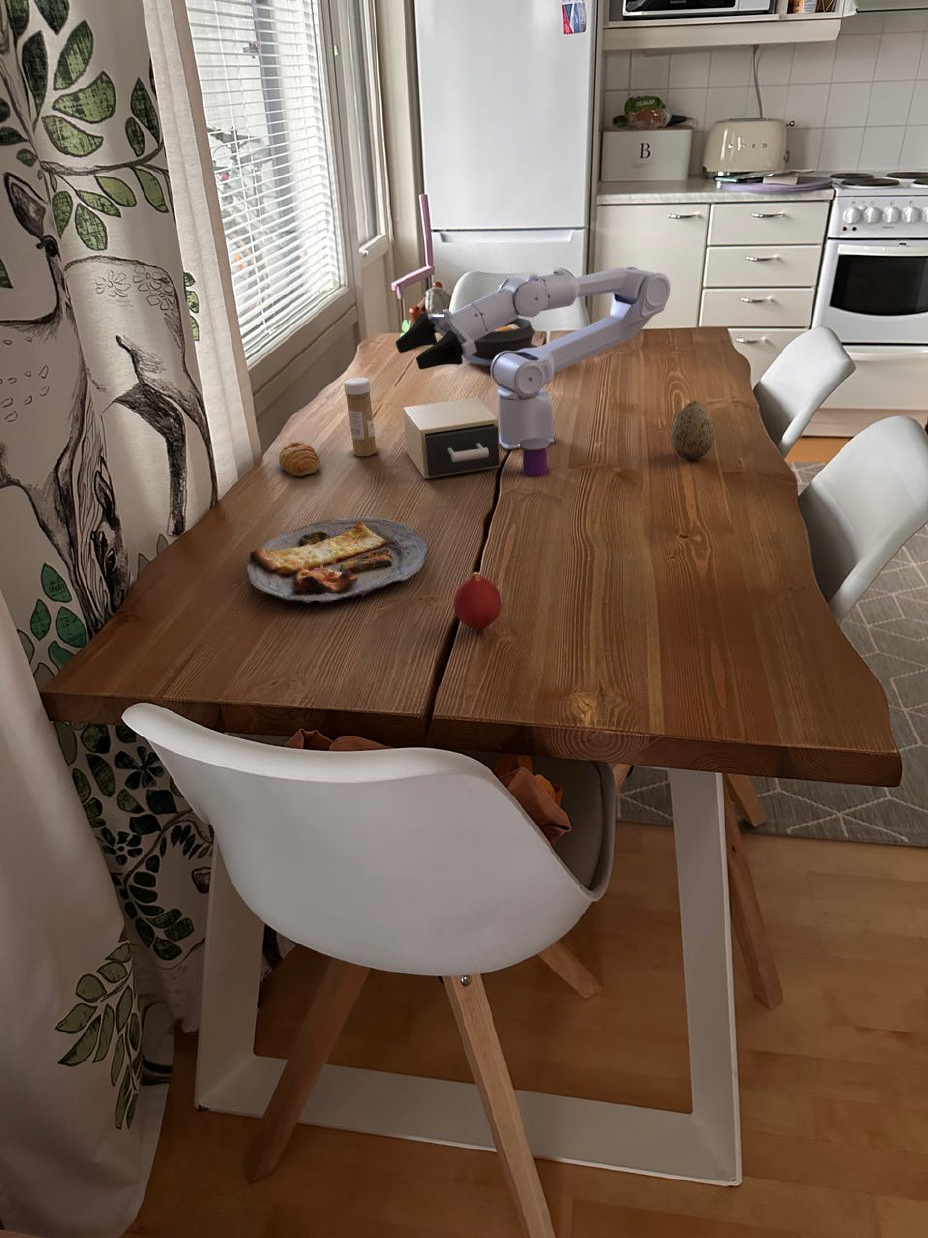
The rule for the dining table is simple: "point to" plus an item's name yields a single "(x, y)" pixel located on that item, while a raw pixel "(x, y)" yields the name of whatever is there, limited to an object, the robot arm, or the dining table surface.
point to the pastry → (299, 459)
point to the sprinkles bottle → (360, 416)
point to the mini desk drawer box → (442, 425)
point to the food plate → (336, 559)
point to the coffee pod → (534, 456)
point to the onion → (477, 602)
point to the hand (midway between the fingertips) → (407, 355)
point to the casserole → (502, 341)
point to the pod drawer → (462, 450)
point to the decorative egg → (693, 431)
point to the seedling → (405, 327)
